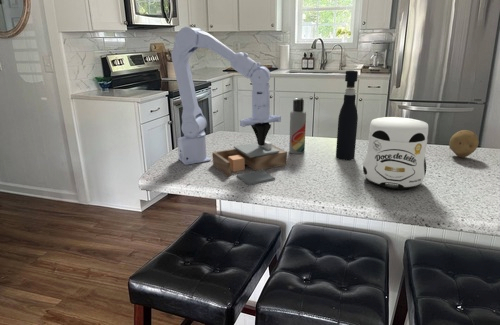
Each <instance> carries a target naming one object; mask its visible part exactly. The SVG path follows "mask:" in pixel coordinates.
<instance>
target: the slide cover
mask: <svg viewBox="0 0 500 325" xmlns="http://www.w3.org/2000/svg"><path fill="white" fill-rule="evenodd" d="M272 145H273V144H272V142H270V141H268V140H267V139H265V143H264V145H262V146H260V145H258V142H257V141H256V142H254V143H253V142H251V143H245V144H239V145H234V146H233V149H236V150H238V151H240V152H241V153H243V154H245V155H246V156H248V157H250V158H251V157H257V156H262V155H268V154H273V153H279V150H277V149H275V148H273V147H272Z"/></svg>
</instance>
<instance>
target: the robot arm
mask: <svg viewBox="0 0 500 325" xmlns="http://www.w3.org/2000/svg"><path fill="white" fill-rule="evenodd" d="M197 49H209V50H211V51H212V52H214V53H216V54H217V55H219V56H220V57H222V58H224V59H225V60H227V61H229V63H230V67H231V69H233V70H235V71H236V72H237V73H239V74H240V75H241V76H244V77H245V78H246V79H249V81H250V83H252V84H251V86H252V89H251V117H248V118H244V119H240V120H239V126H240V127H241V128H245V127H248V126H251V129H252V130H253V133H254V135H255V138H256V143H257V142H258V145H260V146H262V145H264V143H265V140H267V136H268V133H269V131H270V130H271V128H272V124H270V123H281V122H282V116H281V115H279V114H278V115H275V114H274V115H271V114H270V113H271V112H270V108H271V107H270V104H271V103H270V102H271V101H270V99H271V97H270V96H271V93H270V92H271V91H270V79H271V71H270V69H269V68H267V66H265V65H262V63H261V62H259V61H257V62H256V61H255V60H253V59H252V58H251V57H249V54H248V53H247V52H242V51H241V52H235V51H234V50H232V49H231V48H230V47H229V46H227V45H225V44H224V43H223V42H221V41H220V40H219V39H217V38H216V37H215V36H213V35H212V34H211V33H209V32H207V31H204V30H203V29H201V28H200V27H196V26H193V27H189V26H184V27H182V28H180V29H179V31H177V33H176V35H174V43H173V48H172V51H171V61H172V66H173V71H174V74H175V79H176V83H177V84H176V85H177V89H178V91H179V97H180V101H181V105H182V113H181V122H182V123H181V129H180V130H181V132H182V134H183V136H181V137H178V138H177V150H178V151H177V152H178V158H177V159H178V160H180V162H182V164H183V165H184V166H187V165H193V164H194V165H195V164H199V163H204V162H209V161H212V159H211V158H210V157H209V156H207V155H208V154H207V140H206V132H205V129H206V127H207V126H208V124H207V123H208V122H207V119H206V117H205V116H204V114H203V111H202V108H201V107H200V106H199V103H198V99H197V98H198V97H197V94H196V89H195V84H194V79H193V75H192V74H193V73H192V69H191V65H190V57H191V56H193V53H194V52H195V51H196V50H197Z"/></svg>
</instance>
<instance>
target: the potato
mask: <svg viewBox="0 0 500 325" xmlns="http://www.w3.org/2000/svg"><path fill="white" fill-rule="evenodd" d="M448 142H449V144H448V145H449V146H448V148H449V149H450V150H451V151H452V152H453V153H454V154H455V155H456V156H457V157H458V158H461V159H463V158H467V157H469V156H470V155H472V154H473V153H474V152H475V151H476V150H477V148H478V146H479V143H480V141H479V137H478V135H477V134H476V133H474V132H473V131H471V130H467V129H462V130H459V131H457V132H454V134H453V135H452V136H451V137H450V139H449V141H448Z"/></svg>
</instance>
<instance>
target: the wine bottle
mask: <svg viewBox="0 0 500 325" xmlns="http://www.w3.org/2000/svg"><path fill="white" fill-rule="evenodd" d="M358 72H359V71H357V70H346V71H345V77H344V79H345V80H344V82H346V88H345V93H344V94H343V104H342V106H341V108H340V110H339V115H338V118H337V119H338V121H337V135H336V136H337V137H336V150H335V158H336V159H338V160H341V161H353V160H354V159H355V156H356V145H357V144H356V142H357V131H358V121H359V114H358V109H357V106H356V96H357V95H356V88H355V87H356V86H355V84H356V82H358V75H359V74H358Z"/></svg>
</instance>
